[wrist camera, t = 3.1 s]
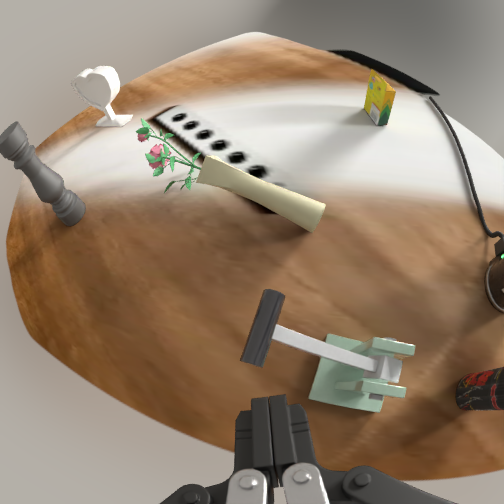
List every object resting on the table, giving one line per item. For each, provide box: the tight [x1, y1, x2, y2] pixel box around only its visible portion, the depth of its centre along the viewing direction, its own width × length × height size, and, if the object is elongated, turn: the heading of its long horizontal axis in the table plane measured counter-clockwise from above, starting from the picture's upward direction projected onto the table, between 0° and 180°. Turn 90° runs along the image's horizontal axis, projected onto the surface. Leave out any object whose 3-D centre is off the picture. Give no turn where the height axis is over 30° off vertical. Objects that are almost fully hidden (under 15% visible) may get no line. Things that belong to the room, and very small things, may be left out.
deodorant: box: [456, 367, 504, 410], centre depth 22 cm, size 6×6×15 cm
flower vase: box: [136, 118, 325, 233], centre depth 45 cm, size 12×12×35 cm
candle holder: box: [0, 122, 86, 226], centre depth 40 cm, size 6×6×25 cm
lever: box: [240, 289, 403, 383], centre depth 21 cm, size 15×6×2 cm, turn 71°
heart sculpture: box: [71, 66, 132, 127], centre depth 57 cm, size 16×5×18 cm, turn 69°
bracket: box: [308, 334, 415, 413], centre depth 27 cm, size 10×9×14 cm
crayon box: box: [364, 69, 396, 126], centre depth 50 cm, size 7×3×12 cm, turn 9°
